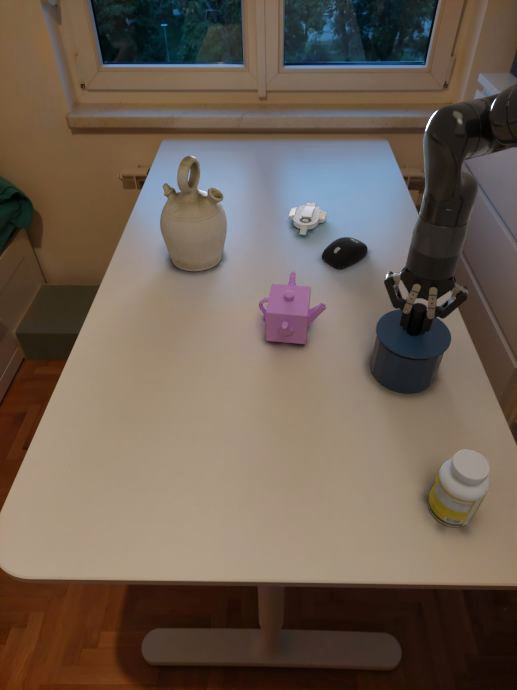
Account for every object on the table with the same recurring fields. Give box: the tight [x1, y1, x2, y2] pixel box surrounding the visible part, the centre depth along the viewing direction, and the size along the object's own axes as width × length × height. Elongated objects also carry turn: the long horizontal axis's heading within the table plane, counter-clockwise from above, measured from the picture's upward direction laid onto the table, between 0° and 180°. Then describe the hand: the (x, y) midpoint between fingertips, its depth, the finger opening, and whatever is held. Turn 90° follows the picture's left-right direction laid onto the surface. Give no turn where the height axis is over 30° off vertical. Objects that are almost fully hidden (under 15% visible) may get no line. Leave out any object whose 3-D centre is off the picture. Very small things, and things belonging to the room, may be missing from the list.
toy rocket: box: [288, 201, 328, 237], centre depth 134 cm, size 16×10×2 cm, turn 166°
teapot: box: [258, 271, 327, 345], centre depth 99 cm, size 18×13×10 cm
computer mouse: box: [321, 236, 369, 270], centre depth 121 cm, size 8×12×4 cm, turn 128°
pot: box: [370, 334, 445, 395], centre depth 91 cm, size 12×12×8 cm
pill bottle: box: [427, 448, 491, 528], centre depth 70 cm, size 6×6×12 cm
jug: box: [159, 155, 228, 272], centre depth 114 cm, size 15×16×25 cm
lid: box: [375, 302, 452, 359], centre depth 86 cm, size 13×13×7 cm
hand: (414, 328), depth 87 cm, fingers closed on lid, 2 cm apart
